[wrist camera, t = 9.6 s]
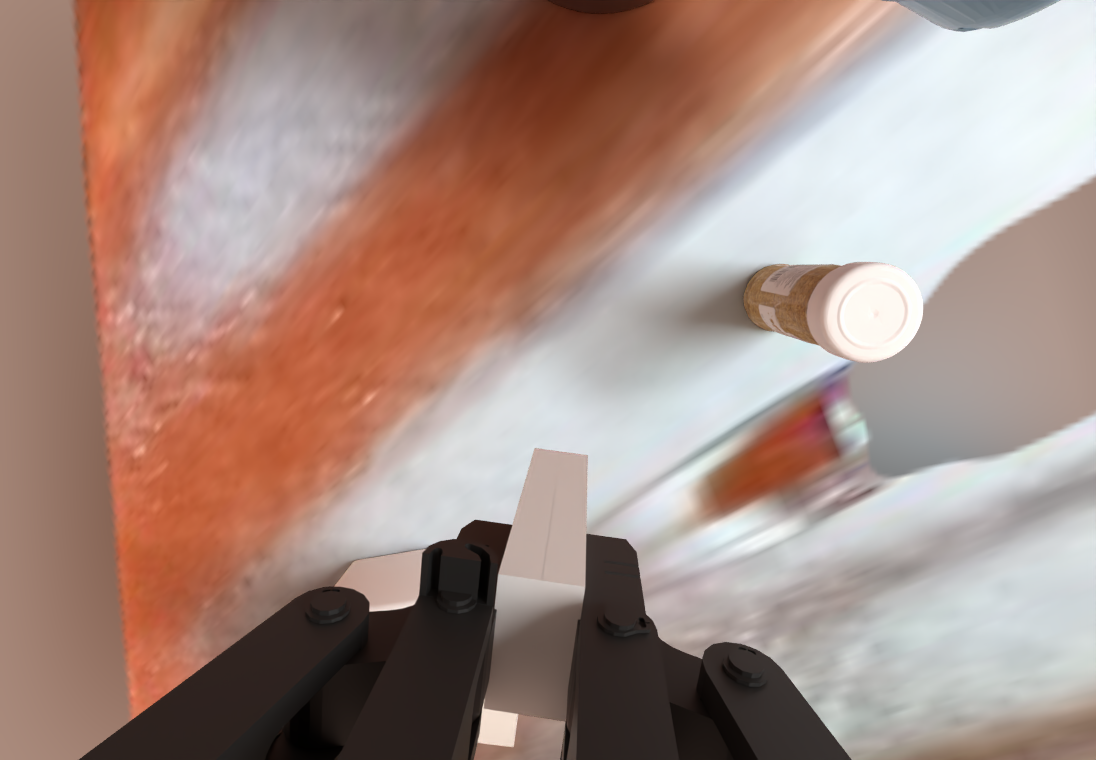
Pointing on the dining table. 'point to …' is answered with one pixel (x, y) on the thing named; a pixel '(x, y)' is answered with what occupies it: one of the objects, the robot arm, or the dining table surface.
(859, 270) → the sprinkles bottle
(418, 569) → the container
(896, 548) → the dining table surface
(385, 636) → the robot arm
